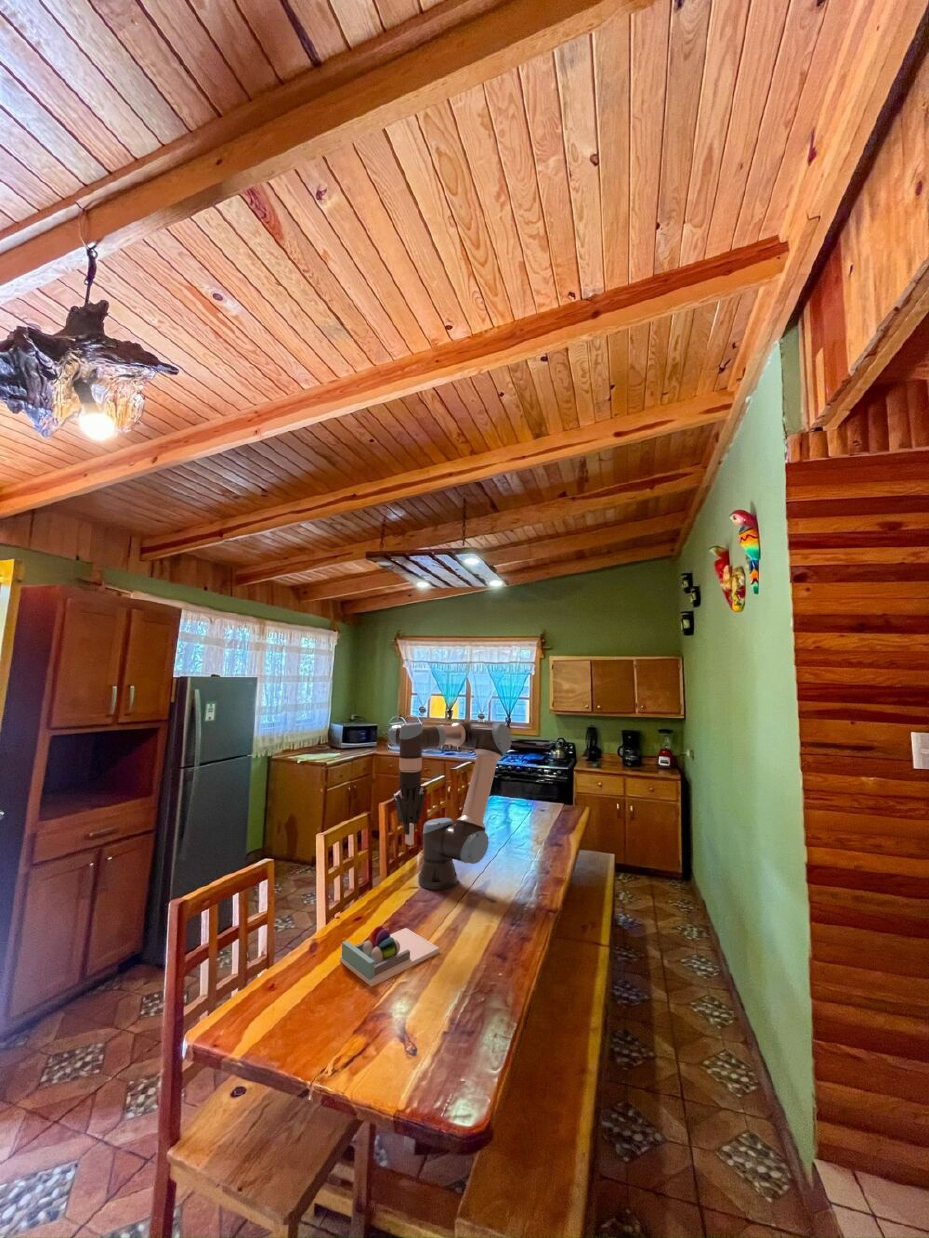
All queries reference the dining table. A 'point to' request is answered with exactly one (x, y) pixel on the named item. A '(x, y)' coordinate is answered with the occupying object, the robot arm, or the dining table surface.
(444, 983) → the dining table surface
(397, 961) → the board
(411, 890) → the dining table surface
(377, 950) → the multicolored rounded lobe cluster
